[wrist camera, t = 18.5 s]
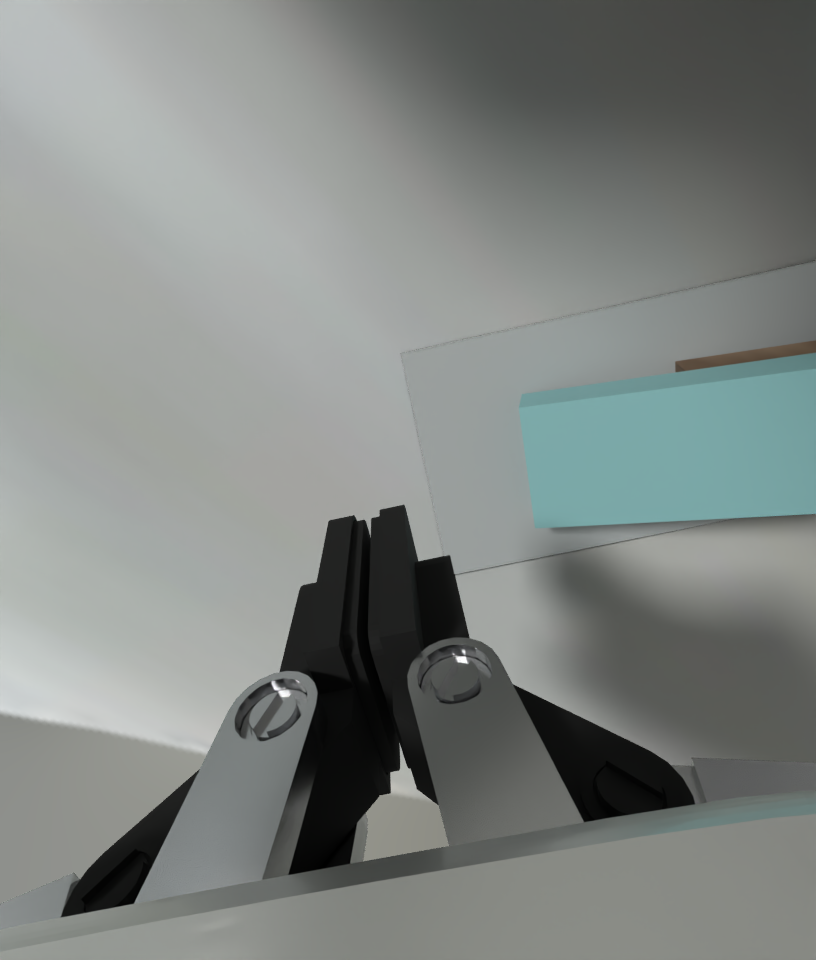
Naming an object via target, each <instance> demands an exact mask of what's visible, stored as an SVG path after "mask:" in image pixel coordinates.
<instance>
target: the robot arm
mask: <svg viewBox="0 0 816 960" xmlns="http://www.w3.org/2000/svg"><path fill="white" fill-rule="evenodd" d="M399 742H400V745H401V748H402V751H403V755H404V758H405V761H406V764H407V767H408V768H411V771H412V774H413V777H414V780H415V784H416V787H417V789H418V790H419V791H420V792H422V793H423V794H424V795H426V796H427V797H428V798H429V799H431V800H432V801H433V802H435V803H436V804H437V805H439V809H440V812H441V816H442V820H443V824H444V828H445V831H446V835H447V839H448V843H449V846H447V847H441V848H436V849H430V850H424V851H419V852H413V853H408V854H402V855H397V856H391V857H386V858H381V859H376V860H369V861H364V862H363V858H364V851H365V846H366V839H367V832H368V830H367V829H368V828H367V827H368V819H367V816H366V812H367V810H368V809H369V808H370V807H371V805H372V804H373V803H374V802H375V801H376V800H377V798H378V797H379V795H384V794H389V793H391V787H390V772H393V771H399V770H400V747H399ZM0 960H816V763H811V762H785V761H759V760H733V759H707V758H692V765H691V766H675V765H670V764H669V763H668V762H667V761H665V760H663V759H662V758H660V757H659V756H657V755H656V754H654V753H652V752H651V751H649V750H647V749H645V748H643V747H641V746H639V745H637V744H635V743H633V742H630V741H628V740H626V739H624V738H622V737H620V736H618V735H616V734H614V733H612V732H610V731H608V730H606V729H604V728H602V727H600V726H598V725H595V724H593V723H591V722H589V721H587V720H585V719H583V718H581V717H579V716H577V715H575V714H573V713H571V712H569V711H567V710H565V709H563V708H561V707H558V706H556V705H554V704H552V703H550V702H548V701H546V700H544V699H542V698H540V697H538V696H536V695H534V694H532V693H530V692H528V691H526V690H523V689H521V688H519V687H517V686H515V685H513V684H512V682H511V680H510V678H509V676H508V674H507V672H506V670H505V668H504V666H503V664H502V663H501V661H500V659H499V657H498V656H497V655H496V653H495V652H494V651H493V649H492V648H490V647H489V646H487V645H486V644H484V643H483V642H481V641H477V640H474V639H470V638H469V634H468V629H467V625H466V621H465V617H464V612H463V608H462V604H461V600H460V595H459V591H458V587H457V583H456V578H455V574H454V570H453V565H452V561H451V557H450V555H448V556H443V557H438V558H433V559H428V560H423V561H418V558H417V554H416V550H415V546H414V541H413V537H412V533H411V529H410V525H409V521H408V516H407V512H406V509H405V506H404V505H401V506H396V507H391V508H387V509H382V510H380V517H375V518H372V519H371V538H370V534H369V531H368V527H367V524H366V521H365V520H361V521H357V520H356V518H355V516H354V515H353V516H349V517H344V518H339V519H334V520H330V521H329V522H328V527H327V532H326V537H325V543H324V548H323V553H322V558H321V563H320V568H319V573H318V578H317V582H316V583H311V584H307V585H303V586H302V587H301V588H300V591H299V594H298V598H297V603H296V607H295V611H294V615H293V619H292V623H291V627H290V631H289V635H288V640H287V644H286V648H285V652H284V656H283V660H282V664H281V668H280V672H279V673H274V674H271V675H269V676H267V677H264V678H262V679H260V680H258V681H257V682H255V683H254V684H252V685H251V686H249V687H248V688H247V689H246V690H245V691H244V692H243V693H242V694H241V695H240V696H239V697H238V698H237V699H236V700H235V702H234V703H233V705H232V706H231V708H230V709H229V711H228V713H227V715H226V717H225V719H224V721H223V723H222V725H221V727H220V729H219V731H218V733H217V735H216V737H215V739H214V741H213V743H212V746H211V748H210V750H209V752H208V754H207V756H206V758H205V760H204V762H203V764H202V766H201V768H200V769H199V770H198V771H197V772H196V773H195V774H194V775H193V776H192V777H190V778H189V779H188V780H187V781H186V782H185V783H183V784H182V785H181V786H180V787H179V788H178V789H177V790H175V791H174V792H173V793H172V794H171V795H170V796H169V797H168V798H166V799H165V800H164V801H163V802H162V803H161V804H159V805H158V806H157V807H156V808H155V809H154V810H153V811H151V812H150V813H149V814H148V815H147V816H146V817H144V818H143V819H142V820H141V821H140V822H139V823H138V824H137V825H135V826H134V827H133V828H132V829H131V830H130V831H128V832H127V833H126V834H125V835H124V836H123V837H122V838H120V839H119V840H118V841H117V842H116V843H115V844H114V845H112V846H111V847H110V848H109V849H108V850H107V851H106V852H104V853H103V854H102V856H100V857H99V858H98V860H96V862H95V863H94V864H93V865H92V866H91V867H90V868H89V869H88V870H87V871H86V872H85V874H84V875H83V877H82V878H81V879H79V878H78V877H77V876H76V874H75V873H72V874H70V875H67V876H65V877H63V878H60V879H58V880H55V881H53V882H51V883H48V884H46V885H44V886H41V887H39V888H36V889H34V890H32V891H29V892H27V893H24V894H22V895H20V896H18V897H15V898H13V899H10V900H8V901H6V902H3V903H1V904H0Z"/></svg>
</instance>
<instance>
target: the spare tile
mask: <svg viewBox="0 0 816 960" xmlns="http://www.w3.org/2000/svg"><path fill="white" fill-rule="evenodd" d="M519 414H520V422H521V429H522V436H523V444H524V451H525V459H526V466H527V473H528V481H529V488H530V496H531V503H532V510H533V518H534V525H535V528H554V527H574V526H593V525H612V524H631V523H650V522H669V521H688V520H707V519H727V518H746V517H765V516H784V515H803V514H816V353H810V354H803V355H796V356H789V357H782V358H775V359H767V360H760V361H753V362H746V363H739V364H732V365H725V366H718V367H711V368H704V369H697V370H689V371H682V372H675V373H668V374H661V375H654V376H647V377H640V378H633V379H626V380H618V381H611V382H604V383H597V384H590V385H583V386H576V387H569V388H562V389H555V390H548V391H540V392H533V393H526V394H522V396H521V400H520V404H519Z"/></svg>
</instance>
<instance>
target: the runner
mask: <svg viewBox="0 0 816 960" xmlns="http://www.w3.org/2000/svg"><path fill="white" fill-rule="evenodd" d="M815 340H816V261H812V262H807V263H803V264H798V265H794V266H789V267H785V268H780V269H776V270H771V271H767V272H762V273H758V274H753V275H749V276H744V277H740V278H736V279H731V280H727V281H722V282H718V283H713V284H709V285H704V286H700V287H695V288H691V289H686V290H682V291H677V292H673V293H668V294H664V295H659V296H655V297H650V298H646V299H641V300H637V301H633V302H628V303H624V304H619V305H615V306H610V307H606V308H601V309H597V310H592V311H588V312H583V313H579V314H574V315H570V316H565V317H561V318H556V319H552V320H547V321H543V322H538V323H534V324H530V325H525V326H521V327H516V328H512V329H507V330H503V331H498V332H494V333H489V334H485V335H480V336H476V337H471V338H467V339H462V340H458V341H453V342H449V343H444V344H440V345H435V346H431V347H427V348H422V349H418V350H413V351H409V352H404V353H401V358H402V363H403V367H404V372H405V376H406V381H407V386H408V390H409V395H410V400H411V404H412V409H413V414H414V418H415V423H416V428H417V432H418V437H419V442H420V446H421V451H422V456H423V460H424V465H425V470H426V474H427V479H428V484H429V488H430V493H431V498H432V502H433V507H434V512H435V516H436V521H437V526H438V530H439V535H440V540H441V544H442V549H443V554H444V556H448V555H450V557H451V561H452V565H453V570H454V574H460V573H465V572H470V571H475V570H480V569H485V568H490V567H495V566H500V565H505V564H510V563H515V562H520V561H525V560H530V559H535V558H540V557H545V556H550V555H555V554H560V553H565V552H570V551H575V550H580V549H585V548H590V547H595V546H600V545H605V544H610V543H615V542H620V541H625V540H630V539H635V538H640V537H645V536H650V535H655V534H660V533H665V532H670V531H675V530H680V529H685V528H690V527H695V526H700V525H705V524H710V523H715V522H720V521H726V520H731V519H736V518H727V519H707V520H688V521H669V522H650V523H631V524H612V525H593V526H574V527H554V528H535V525H534V518H533V510H532V503H531V496H530V488H529V481H528V473H527V466H526V459H525V451H524V444H523V436H522V429H521V422H520V414H519V404H520V400H521V396H522V394H526V393H533V392H540V391H548V390H555V389H562V388H569V387H576V386H583V385H590V384H597V383H604V382H611V381H618V380H626V379H633V378H640V377H647V376H654V375H661V374H668V373H675V361H681V360H687V359H694V358H701V357H707V356H714V355H721V354H728V353H734V352H741V351H748V350H754V349H761V348H768V347H774V346H781V345H788V344H794V343H801V342H808V341H815Z"/></svg>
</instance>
